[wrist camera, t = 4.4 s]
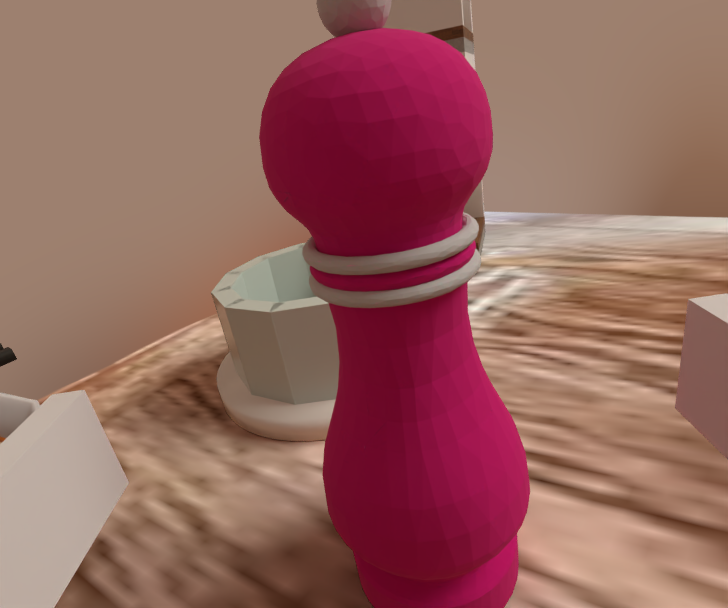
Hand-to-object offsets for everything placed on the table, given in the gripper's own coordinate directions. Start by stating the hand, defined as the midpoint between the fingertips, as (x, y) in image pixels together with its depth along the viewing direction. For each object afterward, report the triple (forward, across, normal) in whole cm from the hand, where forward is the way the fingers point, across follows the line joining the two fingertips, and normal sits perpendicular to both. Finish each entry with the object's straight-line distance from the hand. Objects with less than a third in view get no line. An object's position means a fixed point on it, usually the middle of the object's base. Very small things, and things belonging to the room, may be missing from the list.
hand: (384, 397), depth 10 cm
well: (+20, -4, -11) cm, 24 cm away
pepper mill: (+4, +1, -11) cm, 12 cm away
